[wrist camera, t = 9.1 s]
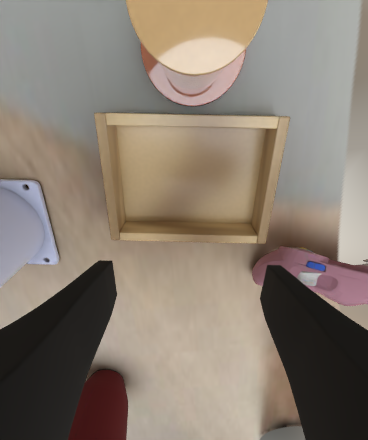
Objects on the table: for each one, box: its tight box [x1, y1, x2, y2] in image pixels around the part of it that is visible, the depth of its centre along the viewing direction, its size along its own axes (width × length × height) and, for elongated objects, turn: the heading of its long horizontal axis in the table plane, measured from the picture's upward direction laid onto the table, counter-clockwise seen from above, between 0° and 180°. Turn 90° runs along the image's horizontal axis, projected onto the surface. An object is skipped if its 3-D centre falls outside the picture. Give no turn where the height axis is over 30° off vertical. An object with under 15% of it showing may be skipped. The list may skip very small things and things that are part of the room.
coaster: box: [141, 43, 246, 106], centre depth 15 cm, size 7×7×1 cm
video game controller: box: [252, 246, 368, 306], centre depth 19 cm, size 10×5×7 cm, turn 74°
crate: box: [94, 113, 290, 244], centre depth 17 cm, size 12×9×3 cm
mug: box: [68, 370, 128, 440], centre depth 25 cm, size 10×8×10 cm
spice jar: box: [126, 0, 268, 89], centre depth 11 cm, size 5×5×8 cm
